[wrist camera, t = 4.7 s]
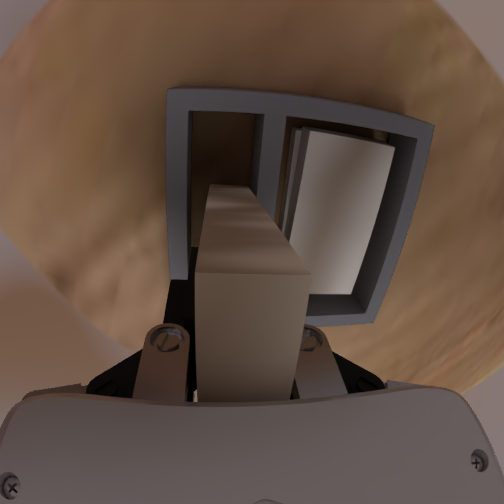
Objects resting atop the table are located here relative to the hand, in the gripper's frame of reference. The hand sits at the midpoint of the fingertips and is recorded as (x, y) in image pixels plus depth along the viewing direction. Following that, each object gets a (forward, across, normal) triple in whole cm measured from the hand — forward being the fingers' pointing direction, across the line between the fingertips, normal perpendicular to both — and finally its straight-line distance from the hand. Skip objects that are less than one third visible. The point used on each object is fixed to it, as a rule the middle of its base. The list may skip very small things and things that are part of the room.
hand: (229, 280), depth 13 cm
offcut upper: (+7, -6, 0) cm, 9 cm away
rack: (+7, -3, 0) cm, 8 cm away
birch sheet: (+5, 0, +2) cm, 5 cm away
